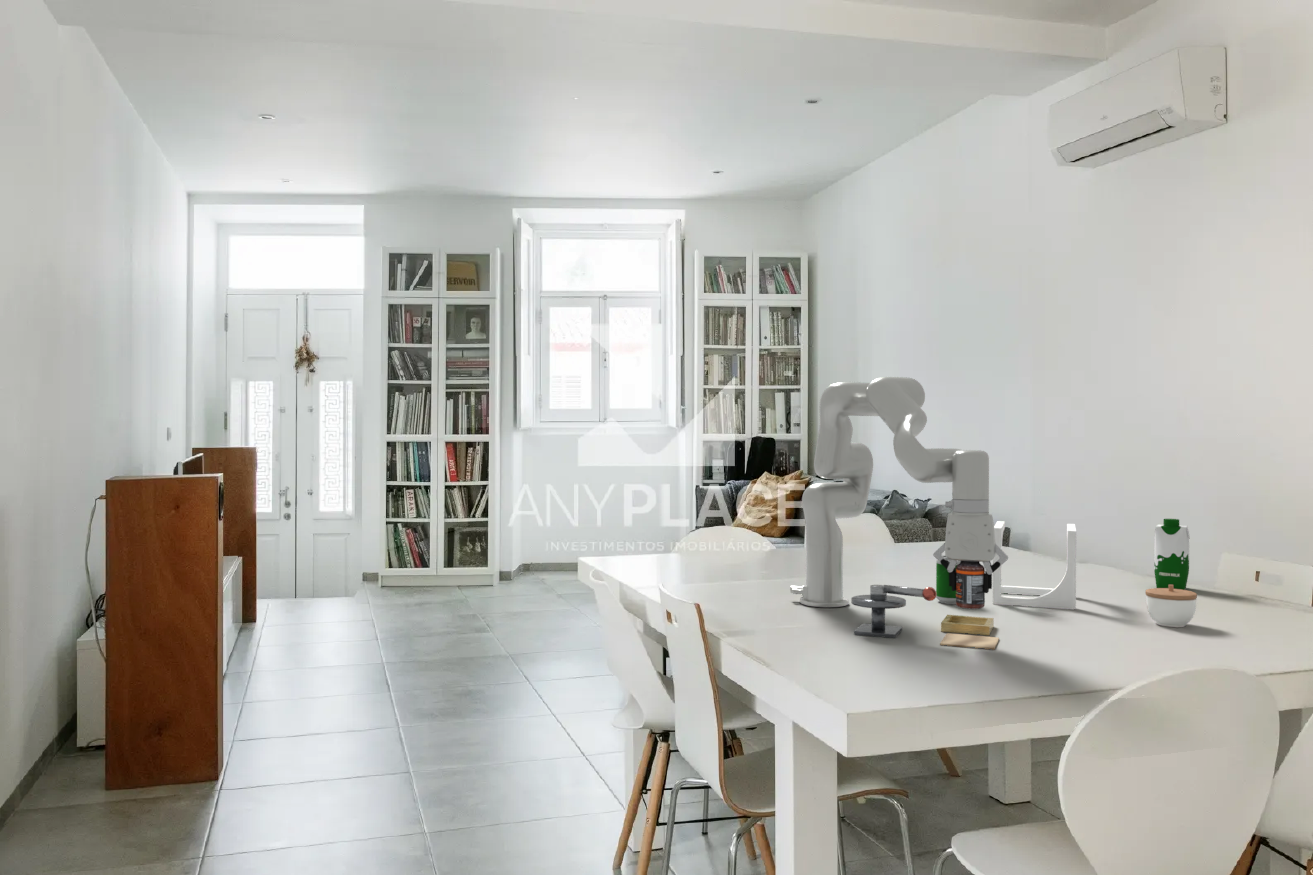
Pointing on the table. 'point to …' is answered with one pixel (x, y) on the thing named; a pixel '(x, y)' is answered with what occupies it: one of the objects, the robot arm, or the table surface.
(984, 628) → the square wooden frame
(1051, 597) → the bookend
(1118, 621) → the table surface
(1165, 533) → the milk carton
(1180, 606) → the lidded jar
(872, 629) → the grey pedestal base
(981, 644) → the cork mat
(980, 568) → the supplement bottle
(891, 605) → the handwheel
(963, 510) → the robot arm
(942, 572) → the soda can
